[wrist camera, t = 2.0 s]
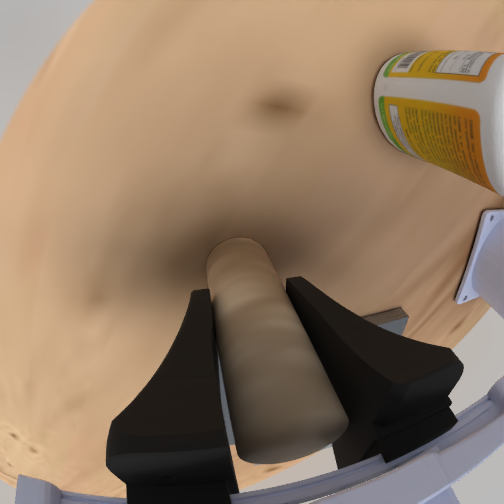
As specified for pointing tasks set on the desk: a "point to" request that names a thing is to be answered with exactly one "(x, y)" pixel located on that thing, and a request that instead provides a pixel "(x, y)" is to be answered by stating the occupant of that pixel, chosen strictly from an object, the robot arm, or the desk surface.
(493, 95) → the supplement bottle
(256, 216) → the desk surface
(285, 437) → the peg
